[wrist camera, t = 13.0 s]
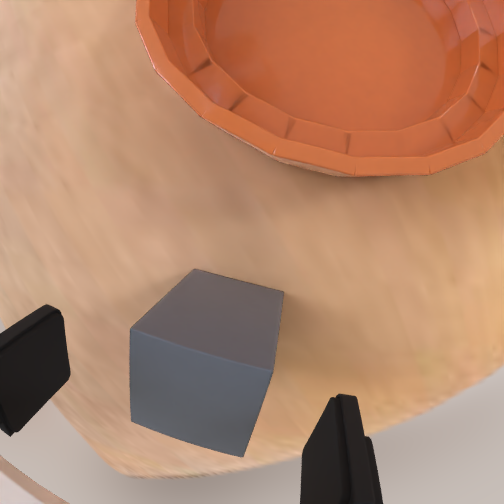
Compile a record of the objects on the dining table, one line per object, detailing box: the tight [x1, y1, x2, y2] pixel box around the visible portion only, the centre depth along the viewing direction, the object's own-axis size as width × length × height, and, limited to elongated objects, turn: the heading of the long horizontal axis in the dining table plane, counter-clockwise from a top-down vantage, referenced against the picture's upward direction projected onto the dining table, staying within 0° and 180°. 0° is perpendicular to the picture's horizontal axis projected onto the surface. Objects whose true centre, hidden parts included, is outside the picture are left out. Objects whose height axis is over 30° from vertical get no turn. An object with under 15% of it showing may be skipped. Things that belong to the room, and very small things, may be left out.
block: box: [130, 269, 284, 457], centre depth 12 cm, size 4×4×6 cm
